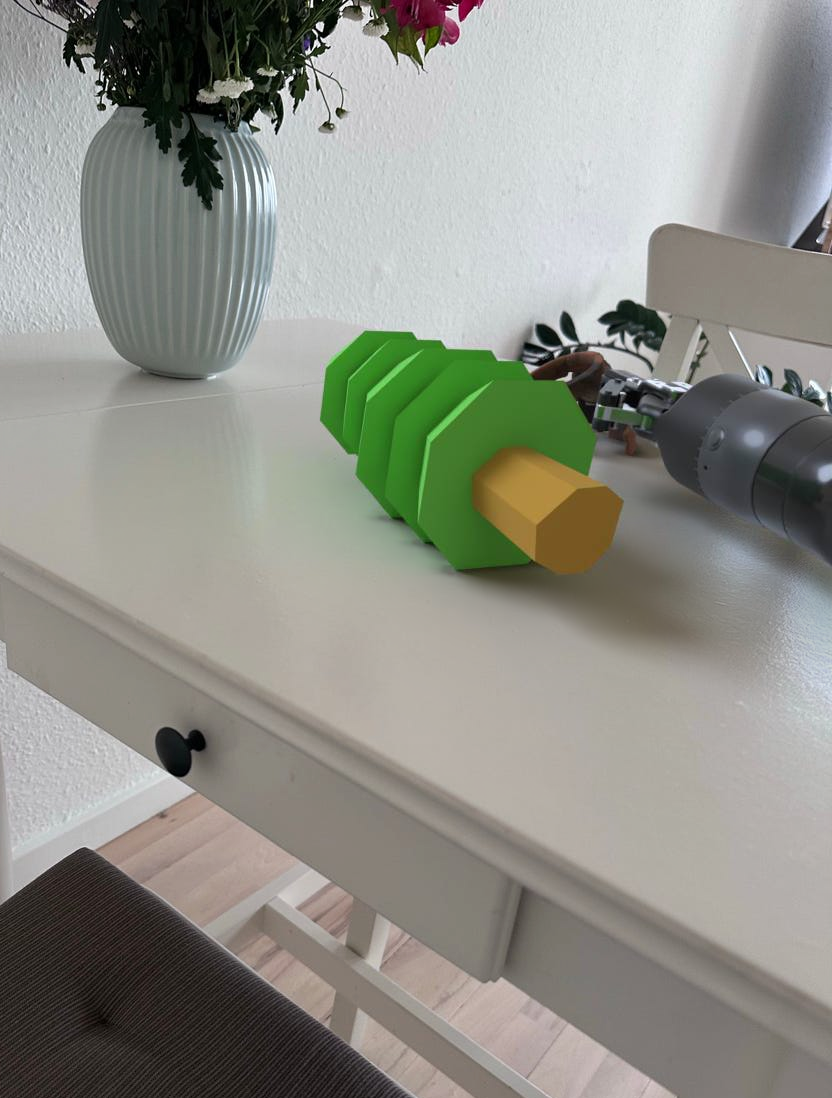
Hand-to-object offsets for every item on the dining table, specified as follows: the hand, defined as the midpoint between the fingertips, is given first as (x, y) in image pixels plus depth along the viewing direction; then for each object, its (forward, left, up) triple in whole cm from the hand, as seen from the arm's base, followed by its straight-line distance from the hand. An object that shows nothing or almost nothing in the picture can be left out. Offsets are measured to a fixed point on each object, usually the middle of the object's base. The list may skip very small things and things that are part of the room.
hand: (610, 383), depth 73 cm
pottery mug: (-1, -5, -6) cm, 8 cm away
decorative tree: (+19, +13, -6) cm, 23 cm away
